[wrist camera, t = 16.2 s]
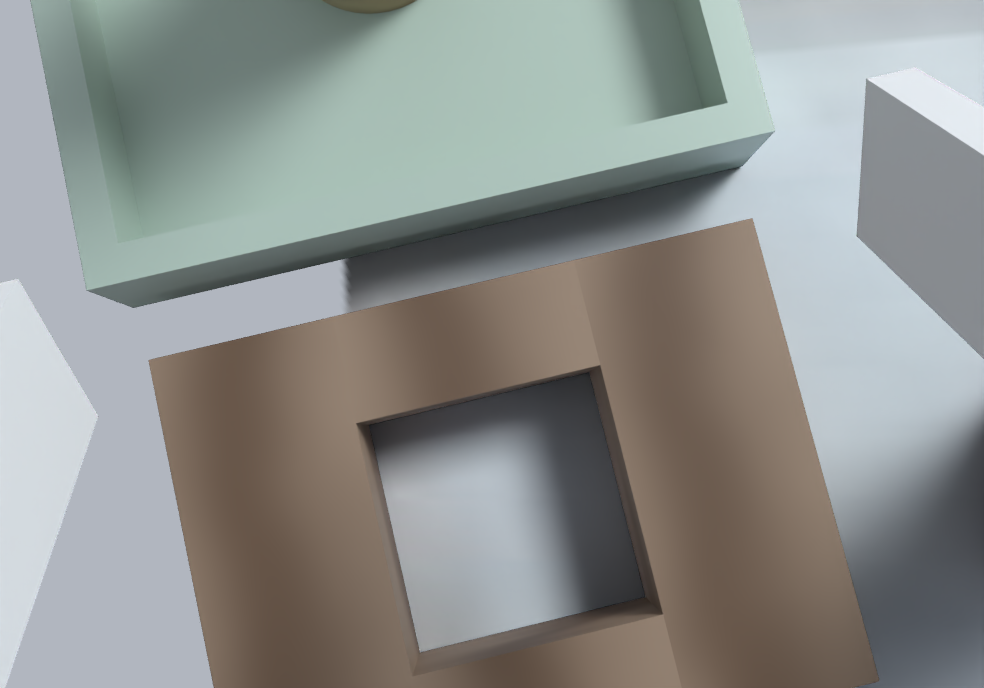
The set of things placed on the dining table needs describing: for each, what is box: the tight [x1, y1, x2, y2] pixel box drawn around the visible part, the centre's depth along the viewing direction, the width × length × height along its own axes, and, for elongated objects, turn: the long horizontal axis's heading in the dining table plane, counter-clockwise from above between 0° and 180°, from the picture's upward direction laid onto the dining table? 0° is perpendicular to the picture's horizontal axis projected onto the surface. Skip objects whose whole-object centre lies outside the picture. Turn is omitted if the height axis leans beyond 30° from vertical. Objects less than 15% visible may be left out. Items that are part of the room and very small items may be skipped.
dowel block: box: [149, 218, 879, 688], centre depth 24 cm, size 16×12×2 cm
